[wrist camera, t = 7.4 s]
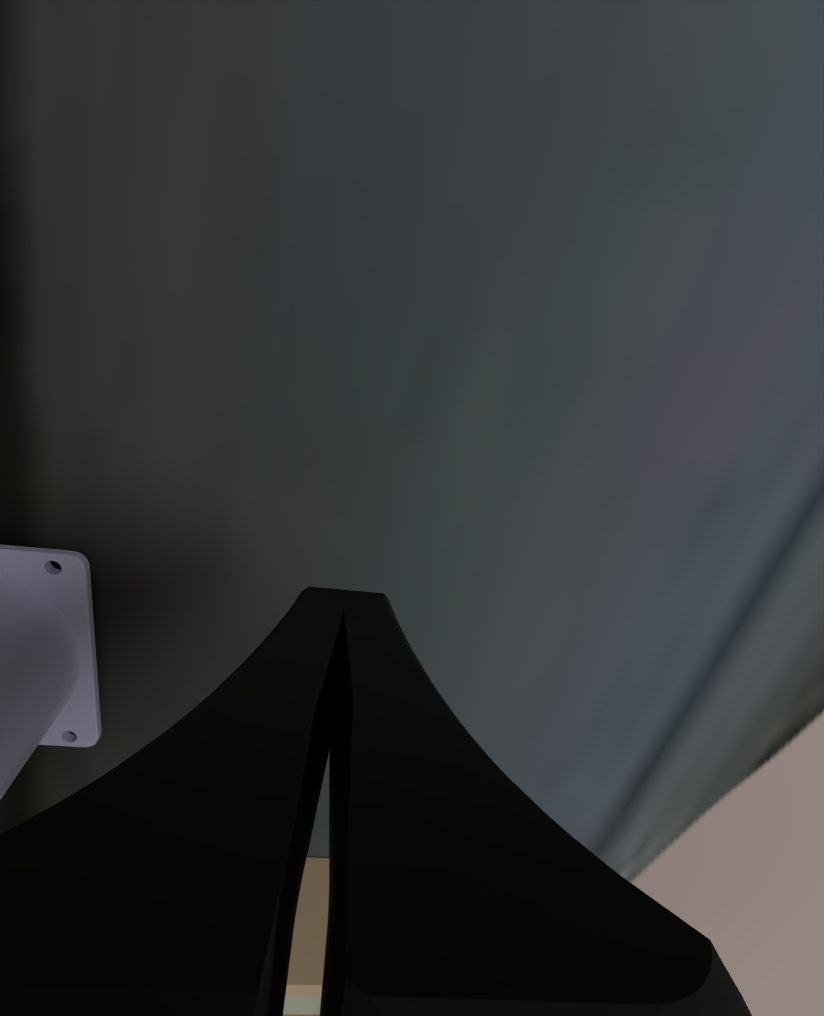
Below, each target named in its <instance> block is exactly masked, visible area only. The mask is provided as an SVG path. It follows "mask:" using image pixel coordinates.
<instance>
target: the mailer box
mask: <svg viewBox="0 0 824 1016" xmlns="http://www.w3.org/2000/svg"><path fill="white" fill-rule="evenodd" d="M328 903H329V858H314V857H307V858H306V863H305V867H304V872H303V877H302V882H301V887H300V893H299V898H298V904H297V910H296V916H295V923H294V931H293V939H292V947H291V955H290V963H289V970H288V978H287V986H286V994H285V1002H284V1010H283V1016H320V1005H321V993H322V982H323V970H324V959H325V947H326V935H327V924H328Z"/></svg>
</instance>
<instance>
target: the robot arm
mask: <svg viewBox="0 0 824 1016" xmlns="http://www.w3.org/2000/svg"><path fill="white" fill-rule="evenodd" d="M50 561H55V562H57V563H59V564H60V566H61V568H62V569H56V568H54V567H53V566H52V565H51V562H50ZM68 731H70V732H73V733H75V734H76V735H74V734H70V733H69V732H68ZM101 732H102V731H101V717H100V703H99V688H98V674H97V660H96V646H95V632H94V618H93V604H92V590H91V576H90V565H89V561H88V560H87V558H86V557H85V556H84V555H82V554H81V553H79V552H76V551H70V550H58V549H47V548H35V547H24V546H12V545H0V800H1V798H2V797H3V795H4V794H5V792H6V791H7V789H8V788H9V786H10V785H11V784H12V782H13V781H14V779H15V778H16V776H17V775H18V773H19V772H20V770H21V769H22V767H23V766H24V765H25V763H26V762H27V760H28V759H29V757H30V756H31V754H32V753H33V751H34V750H35V748H36V747H37V746H38V745H53V746H72V747H91V746H93V745H95V744H96V743H97V741H98V740H99V738H100V736H101ZM329 748H330V759H329V903H328V924H327V935H326V947H325V959H324V970H323V982H322V993H321V1005H320V1016H752V1015H751V1013H750V1011H749V1009H748V1007H747V1005H746V1003H745V1001H744V999H743V997H742V995H741V993H740V992H739V990H738V988H737V987H736V985H735V983H734V981H733V980H732V978H731V976H730V975H729V973H728V971H727V969H726V968H725V966H724V964H723V963H722V961H721V959H720V958H719V956H718V953H717V952H716V950H715V948H714V946H713V944H712V942H711V941H710V940H709V939H708V938H707V937H705V936H704V935H702V934H701V933H700V932H698V931H697V930H695V929H694V928H692V927H691V926H690V925H688V924H687V923H686V922H684V921H683V920H681V919H680V918H679V917H677V916H676V915H675V914H673V913H672V912H670V911H669V910H668V909H666V908H665V907H663V906H662V905H661V904H659V903H658V902H656V901H655V900H654V899H652V898H651V897H649V896H648V895H646V894H645V893H644V892H642V891H641V890H640V889H638V888H637V887H635V886H634V885H633V884H631V883H630V882H628V881H627V880H626V879H624V878H623V877H622V876H620V875H619V874H618V873H616V872H615V871H614V870H612V869H611V868H610V867H609V866H607V865H606V864H605V863H604V862H603V861H601V860H600V859H599V858H598V857H596V856H595V855H594V854H593V853H592V852H590V851H589V850H588V849H587V848H585V847H584V846H583V845H582V844H581V843H579V842H578V841H577V840H576V839H574V838H573V837H572V836H571V835H570V834H568V833H567V832H566V831H565V830H564V829H563V828H562V827H560V826H559V825H558V824H557V823H556V822H555V821H554V820H553V819H551V818H550V817H549V816H548V815H547V814H546V813H545V812H544V811H543V810H542V809H540V808H539V807H538V806H537V805H536V804H535V803H534V802H533V801H532V800H531V799H530V798H529V797H528V796H527V795H526V794H525V793H524V792H523V791H522V790H521V789H520V788H519V787H518V786H517V785H516V784H514V783H513V782H512V781H511V780H510V779H509V778H508V777H507V776H506V775H505V774H504V773H503V772H502V771H501V770H500V768H499V767H498V766H497V765H496V764H495V763H494V762H493V761H492V760H491V759H490V758H489V756H488V755H487V754H486V753H485V752H484V751H483V749H482V748H481V747H480V746H479V745H478V744H477V742H476V741H475V740H474V739H473V738H472V736H471V735H470V734H469V733H468V731H467V730H466V729H465V728H464V726H463V725H462V724H461V723H460V721H459V720H458V719H457V717H456V716H455V715H454V713H453V712H452V711H451V709H450V708H449V706H448V705H447V703H446V702H445V701H444V699H443V698H442V696H441V695H440V694H439V692H438V691H437V689H436V688H435V686H434V685H433V683H432V682H431V680H430V678H429V677H428V675H427V674H426V672H425V670H424V669H423V667H422V665H421V664H420V662H419V660H418V659H417V657H416V655H415V654H414V652H413V650H412V648H411V647H410V645H409V643H408V641H407V639H406V637H405V635H404V633H403V631H402V629H401V627H400V625H399V623H398V621H397V619H396V617H395V614H394V612H393V609H392V607H391V604H390V601H389V600H388V598H387V597H386V596H385V595H384V594H383V593H372V592H361V591H351V590H340V589H329V588H318V587H308V588H306V589H305V590H303V591H302V592H301V593H300V595H299V596H298V598H297V600H296V601H295V602H294V604H293V605H292V607H291V608H290V609H289V611H288V612H287V613H286V615H285V616H284V617H283V619H282V620H281V621H280V622H279V623H278V625H277V626H276V627H275V628H274V630H273V631H272V632H271V633H270V634H269V635H268V636H267V637H266V639H265V640H264V641H263V642H262V643H261V644H260V645H259V646H258V648H257V649H256V650H255V651H254V652H253V653H252V654H251V655H250V656H249V657H248V658H247V659H246V660H245V661H244V662H243V663H242V664H241V665H240V666H239V667H238V668H237V669H236V670H235V671H234V672H233V673H232V674H231V675H230V676H229V677H228V678H227V679H226V680H225V681H224V682H223V683H222V684H221V685H220V686H219V687H218V688H217V689H216V690H214V691H213V692H212V693H211V694H210V695H209V696H208V697H207V698H205V699H204V700H203V701H202V702H201V703H200V704H199V705H197V706H196V707H195V708H194V709H193V710H192V711H190V712H189V713H188V714H187V715H185V716H184V717H183V718H182V719H180V720H179V721H178V722H177V723H175V724H174V725H173V726H172V727H170V728H169V729H168V730H167V731H165V732H164V733H163V734H161V735H160V736H159V737H157V738H156V739H155V740H153V741H152V742H150V743H149V744H148V745H146V746H145V747H143V748H142V749H141V750H139V751H138V752H136V753H135V754H134V755H132V756H131V757H129V758H128V759H127V760H125V761H124V762H122V763H121V764H119V765H118V766H116V767H115V768H113V769H112V770H111V771H109V772H108V773H106V774H105V775H103V776H102V777H100V778H98V779H97V780H95V781H94V782H92V783H91V784H89V785H87V786H86V787H84V788H82V789H81V790H79V791H77V792H76V793H74V794H72V795H71V796H69V797H67V798H65V799H64V800H62V801H60V802H59V803H57V804H55V805H54V806H52V807H50V808H48V809H47V810H45V811H43V812H41V813H39V814H38V815H36V816H34V817H32V818H30V819H29V820H27V821H25V822H23V823H21V824H20V825H18V826H16V827H14V828H13V829H11V830H9V831H7V832H5V833H3V834H1V835H0V1016H283V1010H284V1002H285V994H286V986H287V978H288V970H289V963H290V955H291V947H292V939H293V931H294V923H295V916H296V910H297V904H298V898H299V893H300V887H301V882H302V877H303V872H304V867H305V863H306V858H307V853H308V848H309V844H310V839H311V834H312V830H313V825H314V820H315V815H316V811H317V806H318V801H319V796H320V792H321V787H322V782H323V777H324V773H325V768H326V763H327V758H328V753H329Z"/></svg>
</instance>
